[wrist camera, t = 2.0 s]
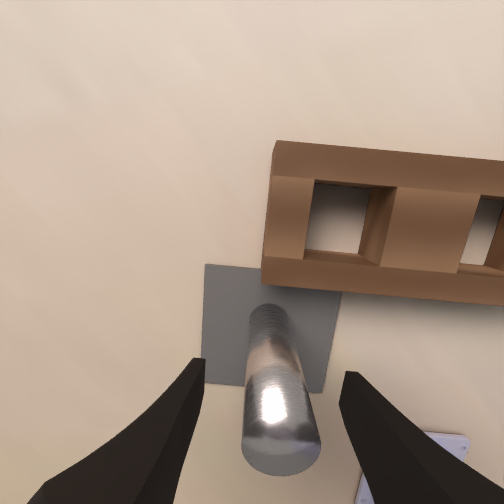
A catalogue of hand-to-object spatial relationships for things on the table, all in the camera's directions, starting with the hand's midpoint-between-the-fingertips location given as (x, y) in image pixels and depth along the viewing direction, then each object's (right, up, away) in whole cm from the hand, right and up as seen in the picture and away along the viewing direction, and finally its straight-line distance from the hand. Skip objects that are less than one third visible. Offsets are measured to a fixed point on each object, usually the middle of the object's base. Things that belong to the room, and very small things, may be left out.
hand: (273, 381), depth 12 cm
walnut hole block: (+9, +8, +4) cm, 13 cm away
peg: (0, +1, +6) cm, 6 cm away
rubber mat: (0, 0, +6) cm, 6 cm away
